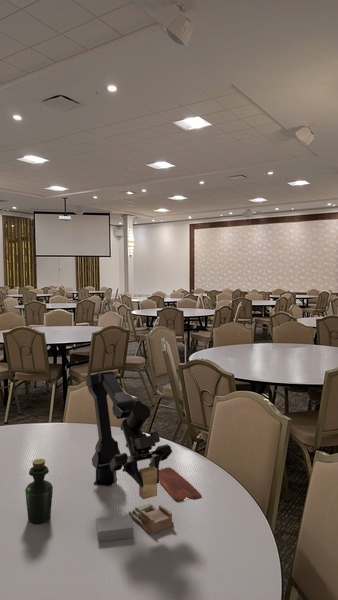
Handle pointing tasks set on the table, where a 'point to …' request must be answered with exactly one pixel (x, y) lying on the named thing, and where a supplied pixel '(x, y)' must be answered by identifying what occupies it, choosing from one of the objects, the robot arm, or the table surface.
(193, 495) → the wooden tablet
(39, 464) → the potion bottle
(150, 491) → the oak block
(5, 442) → the table surface
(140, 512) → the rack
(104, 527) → the plinth
